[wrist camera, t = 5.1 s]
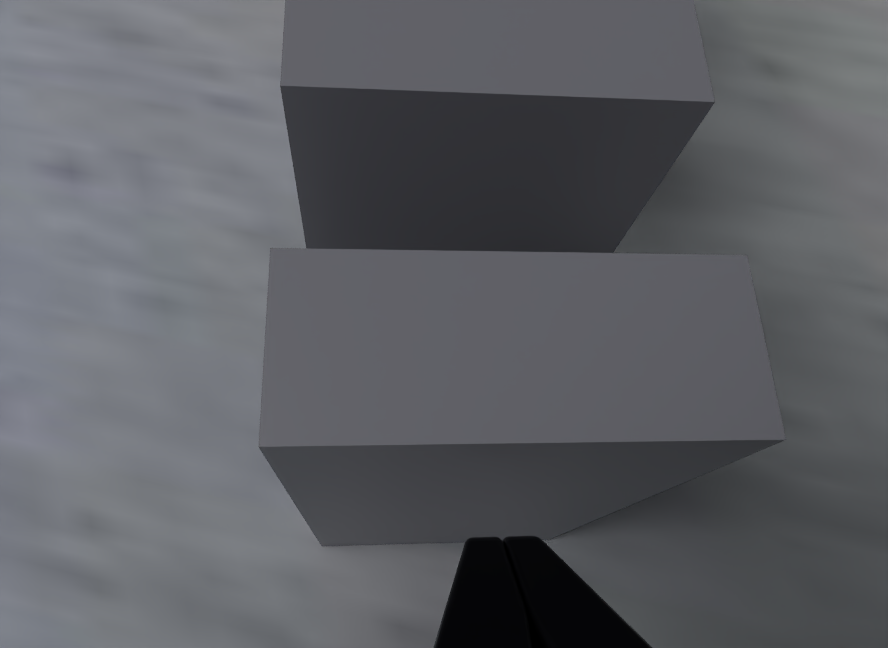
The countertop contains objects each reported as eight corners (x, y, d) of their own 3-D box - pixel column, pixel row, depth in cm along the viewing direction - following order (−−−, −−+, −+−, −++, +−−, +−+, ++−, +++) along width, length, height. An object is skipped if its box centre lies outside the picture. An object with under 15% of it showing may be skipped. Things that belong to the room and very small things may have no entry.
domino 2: (548, 540, 16) (786, 439, 7) (321, 546, 16) (258, 446, 7) (540, 451, 17) (747, 254, 8) (323, 454, 16) (269, 247, 7)
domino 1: (533, 369, 18) (715, 102, 9) (326, 370, 17) (280, 85, 8) (527, 294, 19) (687, -27, 9) (328, 293, 18) (288, -50, 9)
